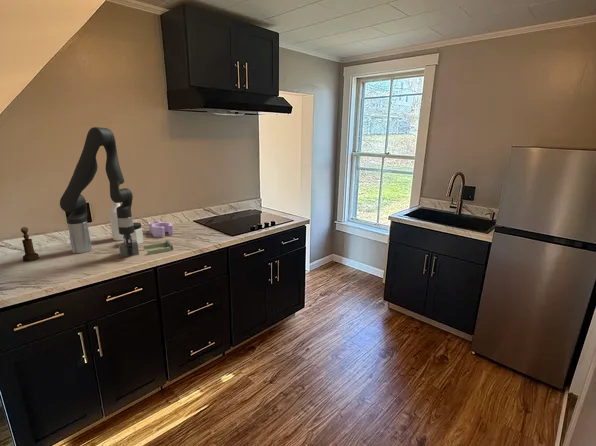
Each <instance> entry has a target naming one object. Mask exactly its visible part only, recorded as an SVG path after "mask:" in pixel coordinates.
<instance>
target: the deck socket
mask: <svg viewBox="0 0 596 446" xmlns="http://www.w3.org/2000/svg"><path fill="white" fill-rule="evenodd" d="M159 247H160V248H159ZM143 248H144V250H146V254H147V255H153V254H159V253H164V252H169V251H174V246H173V244H172V242H170V240H169V239H165V241H164V242H163V241H162V242H156V243H150V244H145V245H143Z"/></svg>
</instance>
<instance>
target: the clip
mask: <svg viewBox="0 0 596 446" xmlns="http://www.w3.org/2000/svg"><path fill="white" fill-rule="evenodd" d="M153 222H154V223H152V221H149V222H147V225H148V232H149V233H150V234H152V236H153V237H155V238H162V239H163V238H164V239H165V238H166V233H168V236H174V225H173V224H172V223H171V222H168V221H165V222H164V221H161V220H153Z"/></svg>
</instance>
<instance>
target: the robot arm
mask: <svg viewBox="0 0 596 446" xmlns="http://www.w3.org/2000/svg"><path fill="white" fill-rule="evenodd" d="M116 143H117V142H116V139H115V135H114V132H113V131H112V129H110V128H106V127H100V126H99V127H97V126H94V127H91V128H90V129H89V130H88V132H87V134H86V138H85V141H84V145H83V149H82V151H81V154H80V157H79V159H78V162H77V163H76V165H75V169H74V171H73V173H72V176H71V178H70V180H69V182H68V185H67V187H66V188H65V190H64V192H63V194H62V195H61V197H60V200H59V206H60V208H61V210H62V211H63V212H66V213H70V214H69V216H67V218H66V223H67V228H68V234H69V240H70V245H71V249H72V250H71V251H72V254H81V253H87V252H90V251H92V250H93V249H92V242H91V237H90V231H89V225H88V207H87V206H88V205H87V200H86V199H85V197H84V196H83V195H82V194H81V193H83V191H84V190H85V189H86V188H87V187H88V186H89V185H90V184H91V183H92V181H93V180H94V178H95V176H96V174H97V171H98V162H97V154H98V151H99V149H100V147H103V148H104V150H105V155H106V158H105V159H106V161H105V172H106V173H105V174H106V176H107V179H108V182H109V197H110V199H112V201H113V202H115V203H121V204H120V206H119V207H117V209H116V212H117V222H118V229H119V234H121V235H124V236H123V239H124V240H123V242H124V243H123V244H125V245H126V246H127V250H128V255H129V256H128V257H131V256H130V255H133V252H132V249H133V247H132V236H131V235H130V234H132V233H134V225H133V223H134V219H133V215H132V205H133V199H134V195H133V192H132V191H131V190H130V188H126V187H123V188H120V185H122V184H124V183H125V178H124V175H123V172H122V170H121V169H122V168H121V166H120V163H119V162H120V161H119V156H118V151H117V150H118V149H117V144H116ZM112 201H111V202H112ZM129 245H131V247H128V246H129ZM133 256H134V255H133Z"/></svg>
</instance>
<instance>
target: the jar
mask: <svg viewBox="0 0 596 446" xmlns="http://www.w3.org/2000/svg"><path fill="white" fill-rule="evenodd" d="M133 225H134V233H132V234H130V235H131V236H132V240H137V243H138V245H140V244H142V243H144V236H143V235H144V234H143V227H142V223H141V222H133Z"/></svg>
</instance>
